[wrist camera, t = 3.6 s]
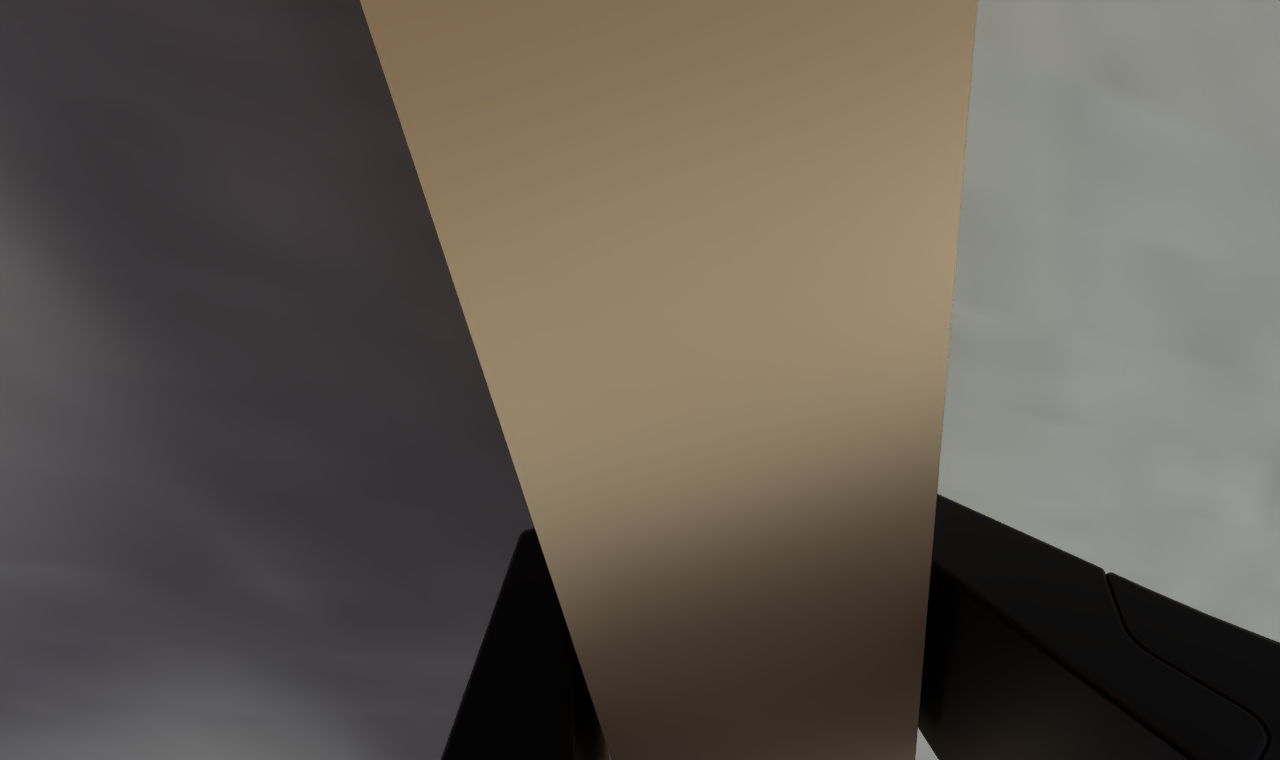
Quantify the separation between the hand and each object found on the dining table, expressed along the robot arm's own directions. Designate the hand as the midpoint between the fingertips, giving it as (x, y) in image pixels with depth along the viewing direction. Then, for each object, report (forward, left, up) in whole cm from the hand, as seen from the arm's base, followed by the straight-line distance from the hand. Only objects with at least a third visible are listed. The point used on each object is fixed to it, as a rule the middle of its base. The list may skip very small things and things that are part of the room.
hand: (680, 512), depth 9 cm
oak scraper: (0, 0, -1) cm, 1 cm away
